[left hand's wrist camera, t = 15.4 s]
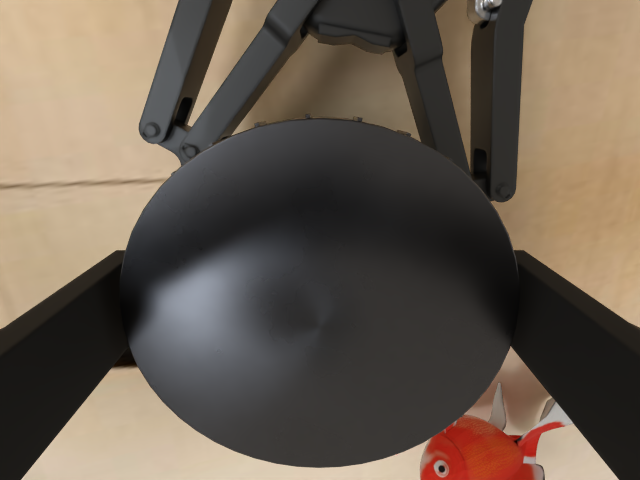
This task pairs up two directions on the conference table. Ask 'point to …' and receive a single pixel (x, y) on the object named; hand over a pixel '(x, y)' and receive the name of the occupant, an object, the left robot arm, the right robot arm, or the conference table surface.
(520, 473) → the fish
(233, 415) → the lid
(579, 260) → the conference table surface
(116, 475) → the conference table surface
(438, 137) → the right robot arm
